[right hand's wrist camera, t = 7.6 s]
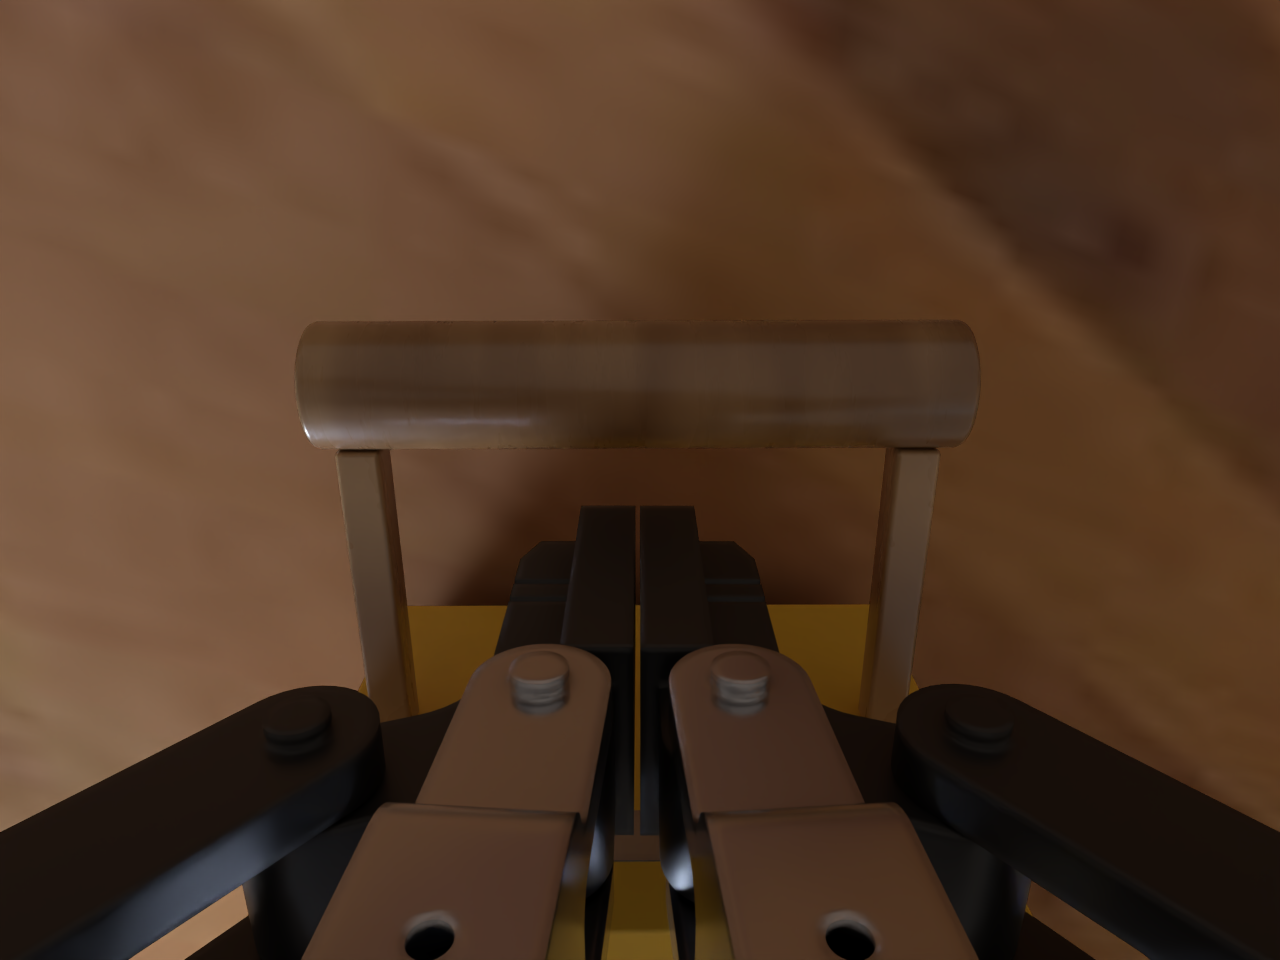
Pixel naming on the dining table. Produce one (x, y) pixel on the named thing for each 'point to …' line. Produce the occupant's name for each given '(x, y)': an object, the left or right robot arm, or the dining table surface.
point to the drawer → (638, 418)
